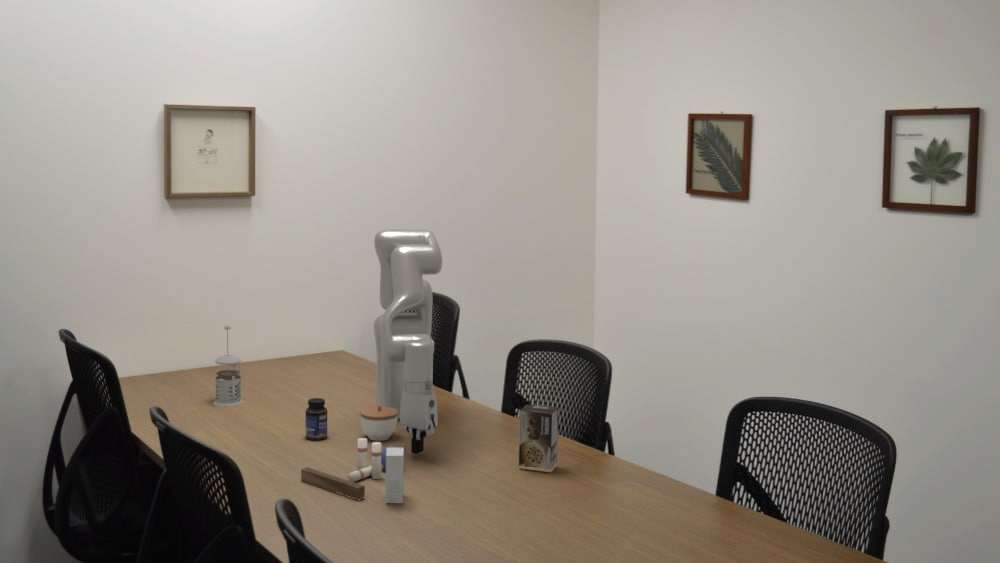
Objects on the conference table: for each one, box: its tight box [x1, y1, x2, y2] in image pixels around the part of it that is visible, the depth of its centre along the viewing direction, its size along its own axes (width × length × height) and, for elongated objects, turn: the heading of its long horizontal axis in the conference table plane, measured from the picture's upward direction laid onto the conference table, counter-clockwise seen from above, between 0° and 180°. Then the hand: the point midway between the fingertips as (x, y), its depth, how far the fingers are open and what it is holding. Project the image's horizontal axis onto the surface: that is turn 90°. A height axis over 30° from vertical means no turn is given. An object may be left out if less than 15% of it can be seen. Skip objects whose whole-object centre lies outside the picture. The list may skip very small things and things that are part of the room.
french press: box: [212, 325, 245, 407], centre depth 306 cm, size 10×12×25 cm
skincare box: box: [385, 447, 405, 504], centre depth 229 cm, size 6×4×12 cm
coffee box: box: [518, 404, 559, 469], centre depth 253 cm, size 9×6×16 cm
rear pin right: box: [356, 437, 368, 470], centre depth 246 cm, size 2×2×9 cm
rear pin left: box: [370, 441, 383, 480], centre depth 243 cm, size 2×2×9 cm
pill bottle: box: [305, 397, 328, 441], centre depth 274 cm, size 6×6×11 cm
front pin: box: [348, 464, 372, 483], centre depth 244 cm, size 2×2×9 cm
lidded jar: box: [359, 405, 399, 442], centre depth 276 cm, size 11×11×9 cm
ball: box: [381, 446, 398, 469], centre depth 250 cm, size 6×6×6 cm
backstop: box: [300, 466, 366, 500], centre depth 235 cm, size 2×20×3 cm, turn 53°
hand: (417, 452), depth 259 cm, fingers closed
